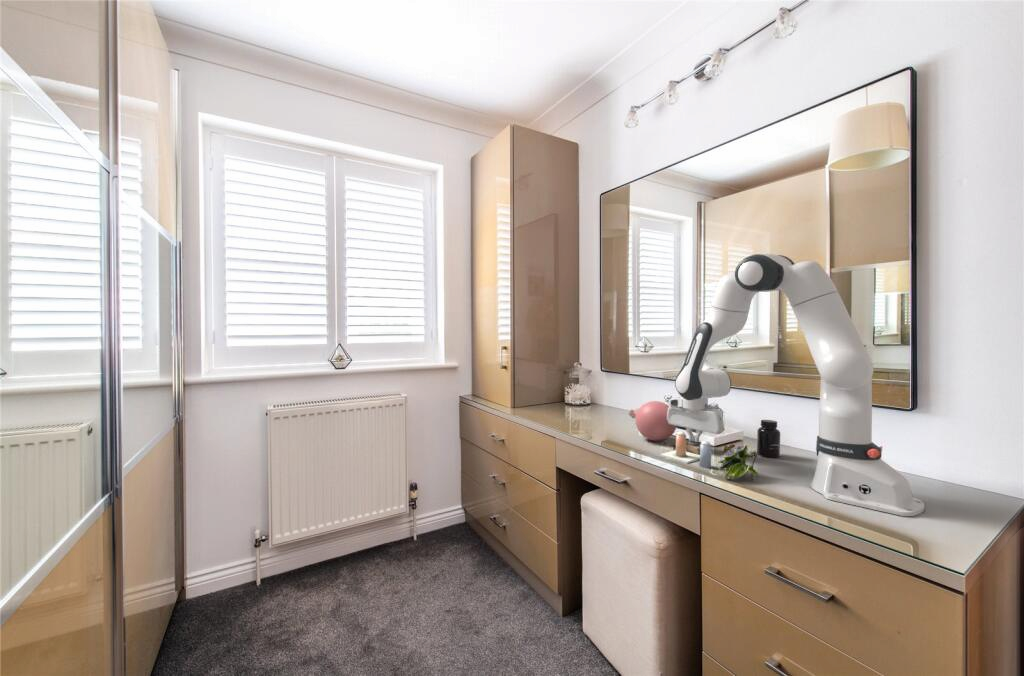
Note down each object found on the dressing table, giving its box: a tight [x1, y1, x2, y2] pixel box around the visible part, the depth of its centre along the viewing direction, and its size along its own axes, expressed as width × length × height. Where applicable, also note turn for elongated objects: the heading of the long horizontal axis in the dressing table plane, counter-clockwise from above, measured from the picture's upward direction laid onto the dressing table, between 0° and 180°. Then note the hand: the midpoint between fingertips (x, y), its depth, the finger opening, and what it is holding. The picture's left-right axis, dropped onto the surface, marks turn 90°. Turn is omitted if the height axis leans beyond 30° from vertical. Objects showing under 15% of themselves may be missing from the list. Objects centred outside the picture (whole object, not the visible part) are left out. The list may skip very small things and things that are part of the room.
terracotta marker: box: [675, 431, 687, 457], centre depth 143 cm, size 3×3×8 cm
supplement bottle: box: [756, 419, 781, 459], centre depth 145 cm, size 7×7×12 cm
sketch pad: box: [660, 449, 700, 464], centre depth 144 cm, size 10×10×1 cm
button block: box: [686, 439, 701, 455], centre depth 151 cm, size 8×8×2 cm
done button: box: [687, 440, 700, 446], centre depth 151 cm, size 4×4×3 cm
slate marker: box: [699, 440, 712, 469], centre depth 134 cm, size 3×3×8 cm
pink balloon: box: [627, 400, 678, 442], centre depth 167 cm, size 15×20×15 cm
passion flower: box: [717, 443, 759, 481], centre depth 124 cm, size 11×11×12 cm
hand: (694, 441), depth 151 cm, fingers closed
